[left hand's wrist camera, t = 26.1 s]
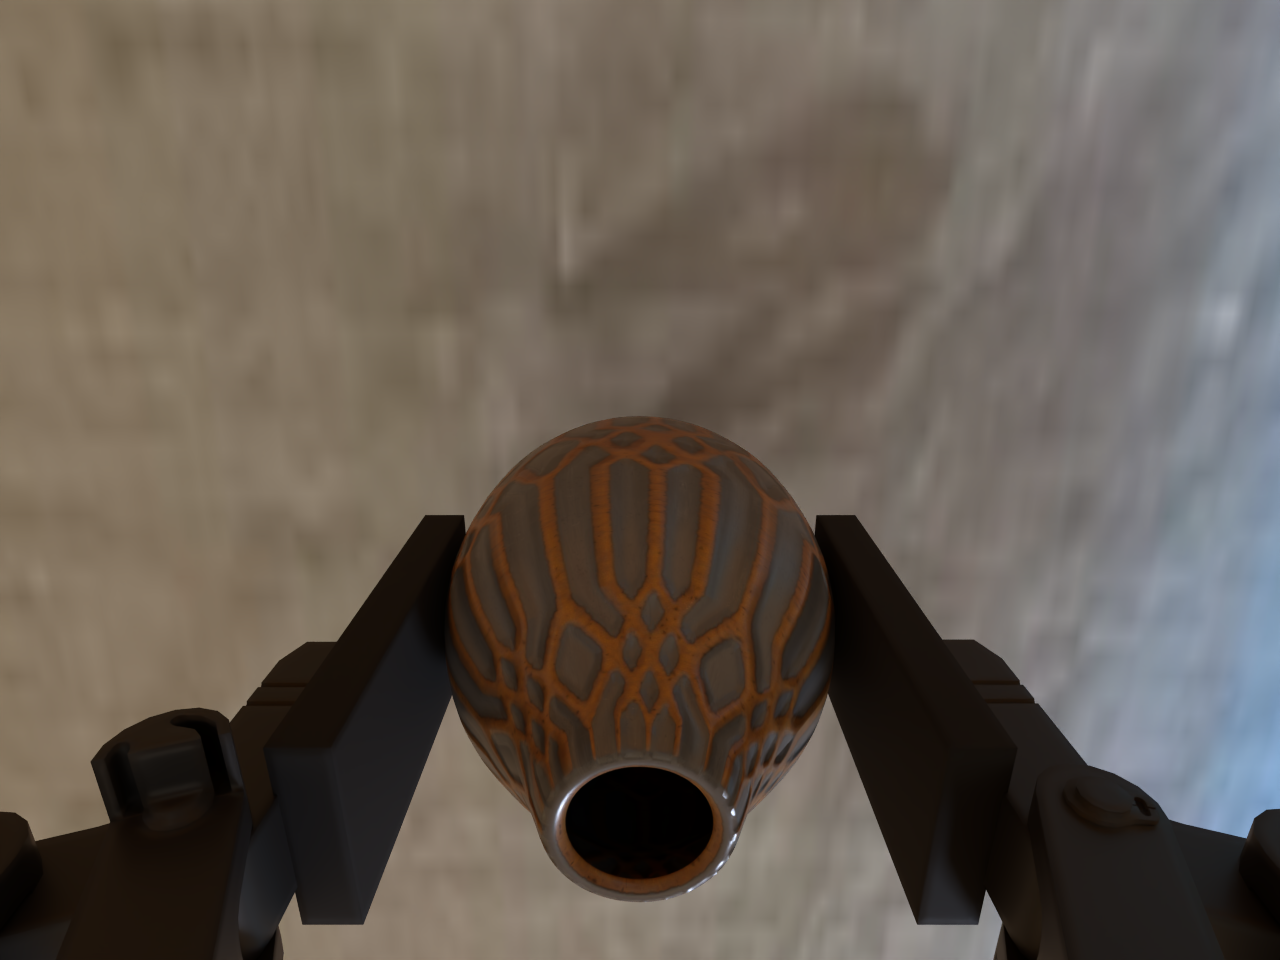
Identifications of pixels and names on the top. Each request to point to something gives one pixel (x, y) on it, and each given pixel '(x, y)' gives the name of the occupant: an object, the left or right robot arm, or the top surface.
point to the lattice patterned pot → (639, 647)
